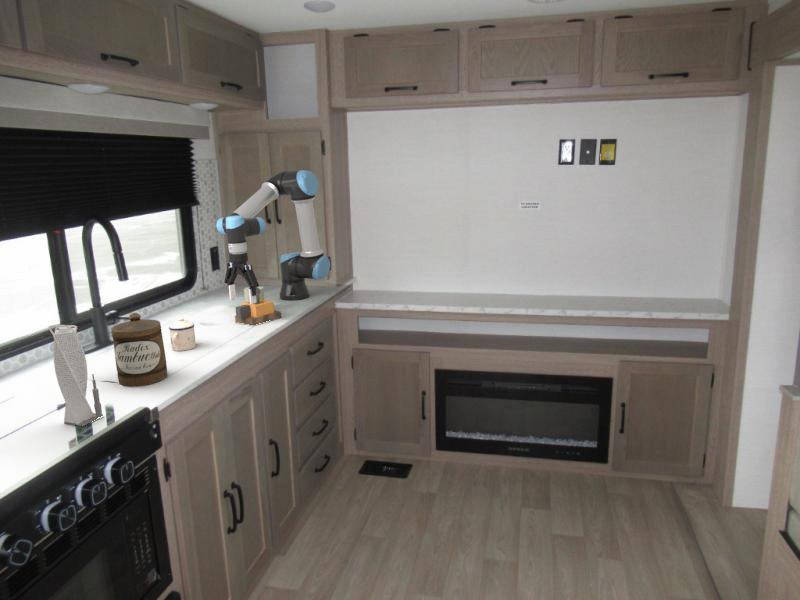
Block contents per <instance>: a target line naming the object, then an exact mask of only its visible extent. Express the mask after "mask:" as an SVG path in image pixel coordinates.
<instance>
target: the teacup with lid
mask: <svg viewBox="0 0 800 600" xmlns="http://www.w3.org/2000/svg"><path fill="white" fill-rule="evenodd" d="M168 329H169V334H170V341H171V349H172V350H173V351H175V352H183V351H189V350H193V349H195V348H196V346H197V344H196V343H197V342H196V332H195V323H194V322H191V321H188V320H186V319H185V317H179V318H177V320H176V321H174V323H171V324H169V325H168Z"/></svg>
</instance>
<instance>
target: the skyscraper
mask: <svg viewBox="0 0 800 600" xmlns="http://www.w3.org/2000/svg"><path fill="white" fill-rule="evenodd" d="M47 328H48V330H49V332H50V333H51V334H52V337H53V365H54V371H55V372H54V373H55V376H56V380H57V384H58V386H59V390H60V392H61V394H62V397H63V399H64V401H65V408H64V418H63V423H64V424H65V425H70V426H75V425H78V426H77V427H81V426H82V428H84V427H86V426H88V425H89V424H88V423H90V422H92V421H94V420H96V419H97V418H98V417H101V416H103V415H104V414H103V411H102V403H101V401H100V400H101V399H100V393H99V388H97V381H96V379H95V376H94V375H95V374H94V373H92V374H91V375H92V380H91V382H92V387H93V388H92V390H91V391H92V396H93V402H94V404H93V407H94V408H93V409H94V412H95V413H94V412H93V410H92V408H91V406H90V404H89V402H88V400H87V397H86V395H87V388H88V364H87V358H86V354H85V351H84V348H83V346H82V342H81V340H80V339H79V336H78V334H77V331H78V326H77V325H72V324H71V325H67V324H53V325H50V326H48V327H47ZM52 328H54V330H53V329H52ZM96 421H97V420H96ZM94 422H95V421H94ZM92 423H93V422H92ZM87 424H88V425H87ZM90 424H91V423H90ZM85 425H86V426H85ZM83 426H84V427H83Z"/></svg>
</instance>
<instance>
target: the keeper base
mask: <svg viewBox="0 0 800 600" xmlns="http://www.w3.org/2000/svg"><path fill="white" fill-rule="evenodd" d="M259 294H260V289H259V288H257V287H256V303H254V304H255V305H257V304H260V297H259ZM277 318H279V319H282V311H281V310H275V309H274V313H271V314H267V315H263V316H260V317H252V316H251V317H247V318H244V319H238V318H236V314H235V315H234V319H235V323H237V322H239V323H238V324H241V323H244V324H243V325H246V324H249V325H248V326H251V325H255V326H257V325H256V324H258V325H260V324H259V323H262V324H264V323H263V322H265V323H267V322H266V321H269V320H272V321H275V320H274V319H276V320H278V319H277ZM269 322H270V321H269Z"/></svg>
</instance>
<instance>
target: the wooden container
mask: <svg viewBox="0 0 800 600" xmlns="http://www.w3.org/2000/svg"><path fill="white" fill-rule="evenodd" d="M128 319H129V320H128V321H124V322H121V323H118V324H116V325H113V326H112V327H111V331H110V332H111V337H112V341H113V349H114V356H115V357H114V358H115V359H114V360H115V367H116V372H117V380H118V383H119V384H120V385H122V386H125V387H142V386H147V385H152V384H155V383H158V382H161V381H162V380H164V379H166V378H167V377H168V368H167V358H166V352H165V345H164V339H163V331H162V326H161V322H160V320H156V319H146V318H145V319H141V314H140V313H137V312H132V313H131V314H129V316H128Z"/></svg>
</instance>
